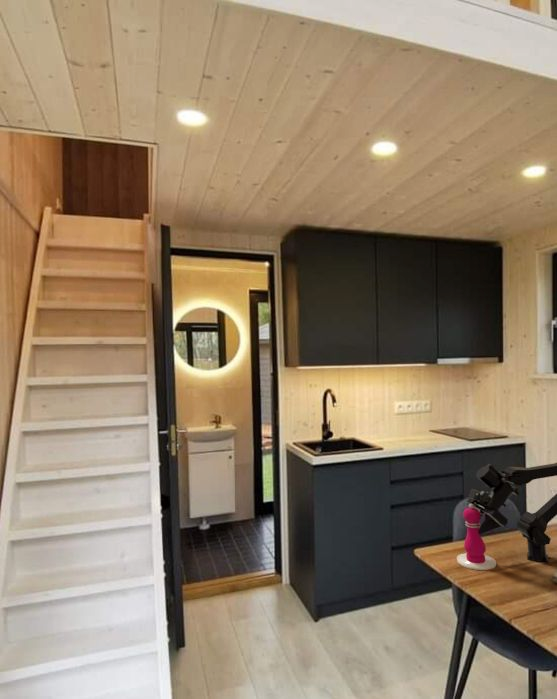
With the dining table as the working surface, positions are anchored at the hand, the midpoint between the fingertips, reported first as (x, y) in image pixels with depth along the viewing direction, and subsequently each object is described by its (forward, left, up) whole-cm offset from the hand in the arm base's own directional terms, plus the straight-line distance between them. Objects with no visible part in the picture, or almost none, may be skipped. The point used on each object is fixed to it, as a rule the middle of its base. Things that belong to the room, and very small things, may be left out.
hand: (472, 529), depth 156 cm
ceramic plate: (0, 0, -12) cm, 12 cm away
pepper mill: (0, 0, -11) cm, 11 cm away
